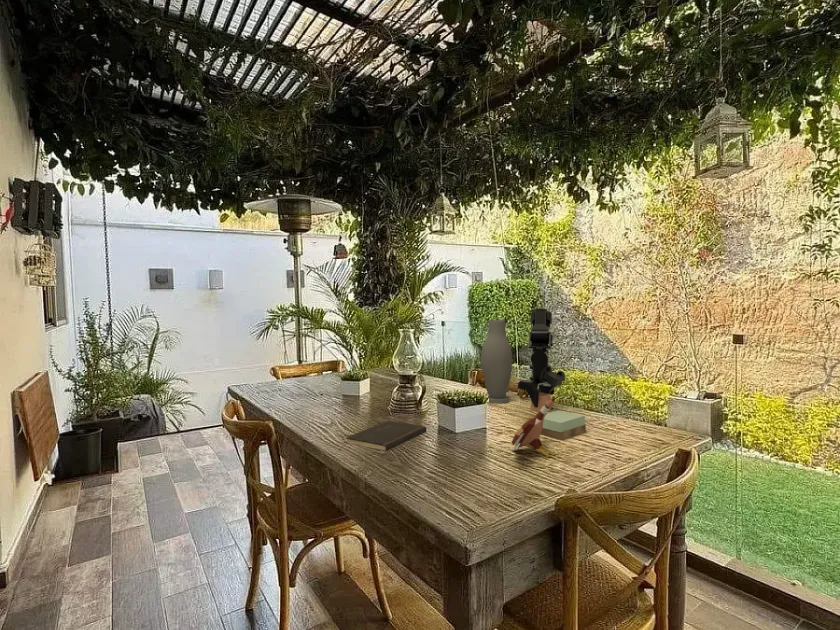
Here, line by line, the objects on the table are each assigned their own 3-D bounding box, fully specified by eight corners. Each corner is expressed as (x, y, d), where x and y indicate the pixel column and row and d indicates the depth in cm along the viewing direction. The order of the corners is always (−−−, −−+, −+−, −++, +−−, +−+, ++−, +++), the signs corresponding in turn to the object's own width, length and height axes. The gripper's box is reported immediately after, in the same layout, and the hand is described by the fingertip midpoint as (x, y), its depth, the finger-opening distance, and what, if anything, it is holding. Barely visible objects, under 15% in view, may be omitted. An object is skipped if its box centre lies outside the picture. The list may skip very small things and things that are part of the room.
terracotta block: (539, 408, 172) (539, 392, 172) (550, 410, 169) (550, 394, 168) (530, 410, 169) (530, 394, 169) (542, 412, 165) (542, 396, 165)
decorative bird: (566, 464, 115) (542, 406, 117) (501, 480, 124) (480, 426, 126) (586, 433, 140) (566, 386, 142) (531, 449, 148) (513, 404, 151)
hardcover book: (345, 444, 147) (345, 437, 147) (388, 426, 167) (388, 420, 167) (386, 452, 139) (386, 445, 139) (426, 433, 158) (426, 426, 158)
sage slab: (559, 418, 161) (559, 410, 161) (584, 424, 153) (584, 415, 153) (535, 425, 153) (534, 416, 153) (560, 432, 145) (560, 422, 145)
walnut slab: (559, 427, 161) (559, 418, 161) (585, 433, 153) (585, 424, 153) (536, 434, 153) (536, 425, 153) (562, 441, 145) (562, 432, 145)
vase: (481, 404, 196) (479, 321, 195) (482, 397, 209) (480, 319, 208) (513, 404, 194) (511, 320, 193) (512, 397, 207) (510, 319, 206)
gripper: (542, 368, 156) (543, 414, 157) (574, 362, 168) (575, 405, 168) (516, 365, 165) (517, 409, 165) (548, 360, 177) (549, 400, 177)
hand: (540, 406), depth 169 cm, fingers closed on terracotta block, 5 cm apart
